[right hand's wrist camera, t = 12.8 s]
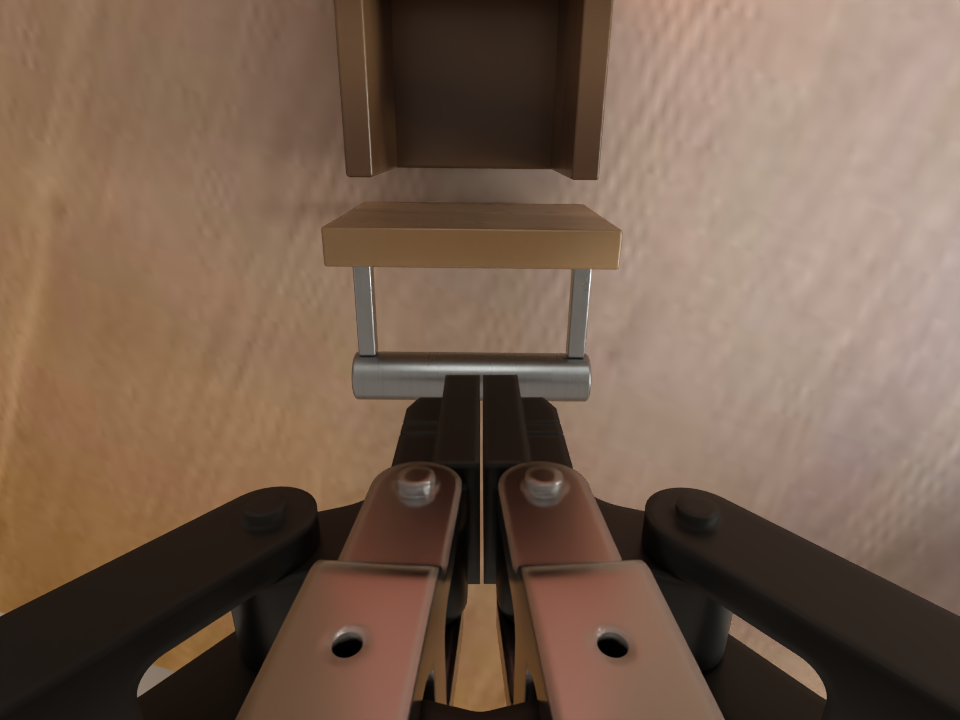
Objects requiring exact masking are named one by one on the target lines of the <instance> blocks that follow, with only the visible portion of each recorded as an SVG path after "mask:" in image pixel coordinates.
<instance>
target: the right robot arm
mask: <svg viewBox="0 0 960 720" xmlns="http://www.w3.org/2000/svg"><path fill="white" fill-rule="evenodd" d="M483 539H484V584H496V591H497V618H496V623H497V633H498V641H499V649H500V657H501V665H502V673H503V680H504V688H505V696H506V704H507V707H503V708H499V709H495V710H491V711H485V712H475V711H469V710H465V709H461V708H457V707H453V704H454V696H455V688H456V680H457V673H458V665H459V657H460V649H461V641H462V633H463V623H464V618H463V610H464V609H465V606H466V603H467V594H468V584H480V375H446V376H445V382H444V389H443V396H442V397H420V398H419V399H418V400H416V401H415V402H414V403H413V404H412V405H411V406H409V407H408V408H407V410H406V414H405V418H404V422H403V425H402V429H401V435H400V436H399V440H398V444H397V448H396V451H395V455H394V459H393V463H392V466H391V468H388V469H386V470H385V471H383V472H382V473H380V474H379V475H378V476H377V477H376V478H375V479H374V481H373V482H372V484H371V486H370V489H369V491H368V493H367V495H366V498H365V500H363V501H361V502H358V503H355V504H352V505H348V506H344V507H340V508H335V509H330V510H325V511H320V512H318V511H317V503H316V501H315V499H314V498H313V496H312V495H311V494H309V493H308V492H306V491H304V490H301V489H298V488H293V487H270V488H264V489H260V490H256V491H253V492H250V493H247V494H245V495H242V496H240V497H238V498H236V499H234V500H232V501H230V502H228V503H226V504H224V505H222V506H220V507H218V508H216V509H214V510H212V511H210V512H208V513H206V514H204V515H202V516H200V517H198V518H196V519H194V520H192V521H190V522H188V523H186V524H184V525H182V526H180V527H178V528H176V529H174V530H172V531H170V532H168V533H166V534H164V535H162V536H160V537H158V538H156V539H154V540H152V541H150V542H148V543H146V544H144V545H142V546H140V547H138V548H136V549H134V550H132V551H130V552H128V553H126V554H124V555H122V556H120V557H118V558H116V559H114V560H112V561H110V562H108V563H106V564H104V565H102V566H100V567H98V568H96V569H94V570H92V571H90V572H88V573H86V574H84V575H82V576H80V577H78V578H76V579H74V580H72V581H70V582H68V583H66V584H64V585H62V586H60V587H58V588H56V589H54V590H52V591H50V592H48V593H46V594H44V595H42V596H40V597H38V598H36V599H34V600H32V601H30V602H28V603H26V604H24V605H22V606H20V607H18V608H16V609H14V610H12V611H10V612H8V613H6V614H4V615H2V616H1V617H0V720H960V616H958V615H956V614H954V613H952V612H950V611H948V610H946V609H944V608H942V607H940V606H938V605H936V604H934V603H932V602H930V601H928V600H926V599H924V598H922V597H920V596H918V595H916V594H914V593H912V592H910V591H908V590H906V589H904V588H902V587H900V586H898V585H896V584H894V583H892V582H890V581H888V580H886V579H884V578H882V577H880V576H878V575H876V574H874V573H872V572H870V571H868V570H866V569H864V568H862V567H860V566H858V565H856V564H854V563H852V562H850V561H848V560H846V559H844V558H842V557H840V556H838V555H836V554H834V553H832V552H830V551H828V550H826V549H824V548H822V547H820V546H818V545H816V544H814V543H812V542H810V541H808V540H806V539H804V538H802V537H800V536H798V535H796V534H794V533H792V532H790V531H788V530H786V529H784V528H782V527H780V526H778V525H776V524H774V523H772V522H770V521H768V520H766V519H764V518H762V517H760V516H758V515H756V514H754V513H752V512H750V511H748V510H746V509H744V508H742V507H740V506H738V505H736V504H734V503H732V502H730V501H728V500H726V499H724V498H722V497H720V496H717V495H715V494H712V493H709V492H706V491H702V490H698V489H692V488H670V489H665V490H661V491H659V492H657V493H655V494H653V495H652V496H651V497H650V498H649V499H648V500H647V503H646V506H645V511H640V510H635V509H631V508H626V507H621V506H617V505H613V504H610V503H607V502H604V501H602V500H600V499H597V498H596V497H594V495H593V493H592V491H591V489H590V486H589V484H588V482H587V481H586V479H585V478H584V477H583V476H582V475H581V474H580V473H578V472H577V471H575V470H574V469H573V467H572V463H571V460H570V456H569V453H568V449H567V445H566V442H565V438H564V435H563V431H562V428H561V424H560V420H559V417H558V413H557V410H556V408H555V407H554V406H553V405H551V404H550V403H549V402H548V401H547V400H546V399H544V398H543V397H521V394H520V388H519V381H518V375H483ZM229 611H232V616H233V621H234V626H235V632H233V633H232V634H230V635H229V636H227V637H226V638H224V639H223V640H222V641H220V642H219V643H217V644H216V645H214V646H213V647H211V648H210V649H208V650H207V651H205V652H204V653H203V654H201V655H200V656H198V657H197V658H195V659H194V660H192V661H191V662H189V663H188V664H186V665H185V666H184V667H182V668H181V669H179V670H178V671H176V672H175V673H173V674H172V675H170V676H169V677H167V678H166V679H164V680H163V681H162V682H160V683H159V684H157V685H156V686H154V687H153V688H151V689H150V690H148V691H147V692H146V693H144V694H143V695H141V696H139V697H138V698H137V689H138V685H139V683H140V680H141V678H142V677H143V675H144V673H145V672H146V671H147V669H148V668H149V667H150V666H151V665H152V664H153V663H154V662H155V661H156V660H157V659H158V658H159V657H161V656H162V655H163V654H165V653H166V652H168V651H169V650H171V649H172V648H174V647H176V646H177V645H179V644H180V643H182V642H183V641H185V640H186V639H188V638H189V637H191V636H192V635H194V634H195V633H197V632H199V631H200V630H202V629H203V628H205V627H206V626H208V625H209V624H211V623H212V622H214V621H215V620H217V619H219V618H220V617H222V616H223V615H225V614H226V613H228V612H229ZM733 613H734V614H735V615H737V616H738V617H740V618H741V619H743V620H745V621H746V622H748V623H749V624H751V625H752V626H754V627H755V628H757V629H758V630H760V631H761V632H763V633H765V634H766V635H768V636H769V637H771V638H772V639H774V640H775V641H777V642H778V643H780V644H781V645H783V646H785V647H786V648H788V649H789V650H791V651H792V652H794V653H795V654H797V655H798V656H800V657H801V658H803V659H804V660H805V661H806V662H807V663H809V664H810V665H811V666H812V667H813V669H814V670H815V671H816V672H817V674H818V675H819V676H820V678H821V680H822V681H823V684H824V686H825V689H826V693H827V700H825V699H824V698H822V697H820V696H819V695H817V694H816V693H815V692H813V691H812V690H810V689H809V688H807V687H806V686H804V685H803V684H801V683H800V682H798V681H797V680H796V679H794V678H793V677H791V676H790V675H788V674H787V673H785V672H784V671H782V670H781V669H779V668H778V667H776V666H775V665H774V664H772V663H771V662H769V661H768V660H766V659H765V658H763V657H762V656H760V655H759V654H757V653H756V652H755V651H753V650H752V649H750V648H749V647H747V646H746V645H744V644H743V643H741V642H740V641H738V640H737V639H736V638H734V637H733V636H731V635H730V634H728V633H729V629H730V624H731V619H732V614H733Z"/></svg>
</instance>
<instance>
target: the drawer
mask: <svg viewBox="0 0 960 720" xmlns="http://www.w3.org/2000/svg"><path fill="white" fill-rule="evenodd" d="M334 11H335V25H336V39H337V53H338V67H339V81H340V95H341V109H342V123H343V137H344V151H345V165H346V174H347V176H349V177H372V176H375V175H377V174H380V173H382V172H385V171H388V170H390V169H393V168H395V167H405V168H491V169H553V170H555V171H557V172H559V173H561V174H563V175H565V176H567V177H569V178H571V179H573V180H597V179H598V178H599V167H600V155H601V143H602V131H603V119H604V107H605V95H606V83H607V71H608V59H609V47H610V35H611V23H612V11H613V0H334ZM321 232H322V243H323V254H324V264H325V266H336V267H353V278H354V292H355V306H356V320H357V334H358V348H359V352H357V353H356V354H355V356H354V360H353V365H352V388H353V393H354V396H355V398H357V399H386V400H418V399H419V398H420V397H442V396H443V389H444V382H445V376H446V375H480V400H483V375H518V381H519V388H520V394H521V397H543V398H544V399H546V400H547V401H587V400H588V398H589V394H590V389H591V366H590V360H589V357H588V355H587V354H585V344H586V332H587V320H588V308H589V297H590V285H591V273H592V269H612V270H616V269H618V268H619V261H620V251H621V241H622V230H620V229H619V228H617V227H616V226H614V225H613V224H611V223H610V222H608V221H607V220H605V219H604V218H602V217H601V216H599V215H598V214H597V213H595V212H594V211H592V210H591V209H589V208H588V207H586V206H585V205H583V204H496V203H407V202H364V203H362V204H361V205H359V206H357V207H356V208H354V209H352V210H351V211H349V212H347V213H345V214H344V215H342V216H340V217H339V218H337V219H335V220H333V221H332V222H330V223H328V224H327V225H325V226H323V227H322V229H321ZM373 267H428V268H520V269H572V271H571V286H570V300H569V314H568V328H567V342H566V353H567V354H561V353H464V352H377V351H378V340H377V323H376V305H375V288H374V271H373Z"/></svg>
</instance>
